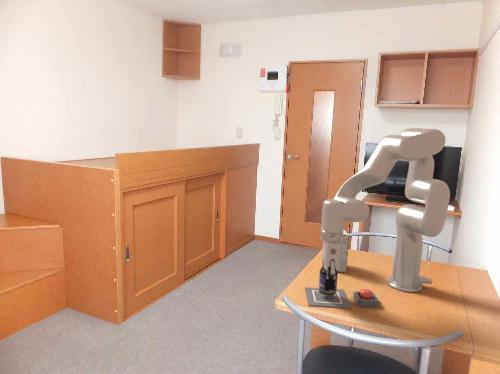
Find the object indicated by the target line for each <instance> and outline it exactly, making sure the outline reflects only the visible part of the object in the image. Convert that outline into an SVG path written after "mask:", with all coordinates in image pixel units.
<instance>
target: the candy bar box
mask: <svg viewBox="0 0 500 374" xmlns="http://www.w3.org/2000/svg"><path fill="white" fill-rule="evenodd" d="M349 240H350V234H349V232H347V231H346V229H345V228H344V231H343V241H342V242H340V270H339V271H338V273H347V270H348V269H347V267H348V255H349V246H350V245H349V243H350V241H349Z"/></svg>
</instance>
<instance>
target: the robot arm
mask: <svg viewBox="0 0 500 374" xmlns="http://www.w3.org/2000/svg"><path fill="white" fill-rule="evenodd" d="M445 145H446V135H445V133H443V131H442V130H440V129H438V128H437V129H436V128H415V127H412V128H411V127H410V128H406V129H403V130H401V131H400V133H399V134H398V135H397V134H391V135H390V134H389V135H385V136H383V137H382V138H381V139H380V140H379V142H378V144H376V147H375V148H374V150H373V152H372V153H371V155H370V156H369V158H368V160H367V161H366V162H365V165H364V166H363V168H362V169H360V170H359V171H358V172H356V173H355V174H353V175H352V176H351V177H349V178H348V179H347V180H346V181H344V183H343V184H342V185H341V186H340V188H339V190H338V191H337V192H336V194H335V196H334V197H333V198H328V199H325V200H324V201H323V203H322V209H321V210H322V211H321V212H322V213H321V226H320V238H319V239H320V240H321V241H322V249H321V250H322V252H321V253H322V254H321V258H322V259H321V262H322V264H323V263H324V268H325V270H326V278H325V290H334V287H335V269H336V271H339V270H340V242H342V241H343V231H344V229H345V222H351V223H361V222H364V221H366V219H367V218H368V217H369V216H370V215H369V214H370V207H369V206H368V204H367V203H365V201H362V200H359V199H357V198H356V196H357V195H358V194H360V192H361V191H363V190H365V189H367V188H370V187H374V186H378V185H380V184H382V183H384V182H385V181H386V180H387V179H388V176H389V175H390V173H391V171H392V170H393V168H394V166H395V165H396V163H397V162H398V161H400V162H401V161H402V162H408V171H407V177H406V181H405V189H404V195H405V197H406V199H408V200H410V201H411V202H415V203H417V204H418V203H419V204H423V205H425V206H424V207H423V206H419V205H415V204H410V203H409V204H404V205H401V206H400V207H398V209H397V211H396V212H395V226H396V234H395V235H396V236H395V237H396V239H395V246H394V247H395V248H394V256H393V257H394V259H393V266H392V267H393V268H392V276H389V277H388V278H387V284H388V285H389V286H390V287H391V288H394V289H395V290H398V291H402V292H408V293H415V292H420V291H422V290H423V285H424V284H428V285H429V284H430V285H431V284H433V279H432V278H427V277H426V276H424V275H423V276H421V275H420V274H421V266H422V265H421V263H422V256H423V249H424V239H423V236H425V237H428V238H434V237H437V236H439V235H440V234H441V233H442V231H443V229H444V226H445V223H446V218H447V213H448V208H449V203H450V198H451V191H450V188H449V186H448V184H447V183H446V182H445V181H443V180H440V179H435V178H433V177H434V170H435V160H434V157H433V156H434V155H436V154H438V153H440V152H441V151H442V150H443V149H444V147H445ZM328 268H330V270H328ZM328 271H329V272H330V273H329V275H328Z"/></svg>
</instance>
